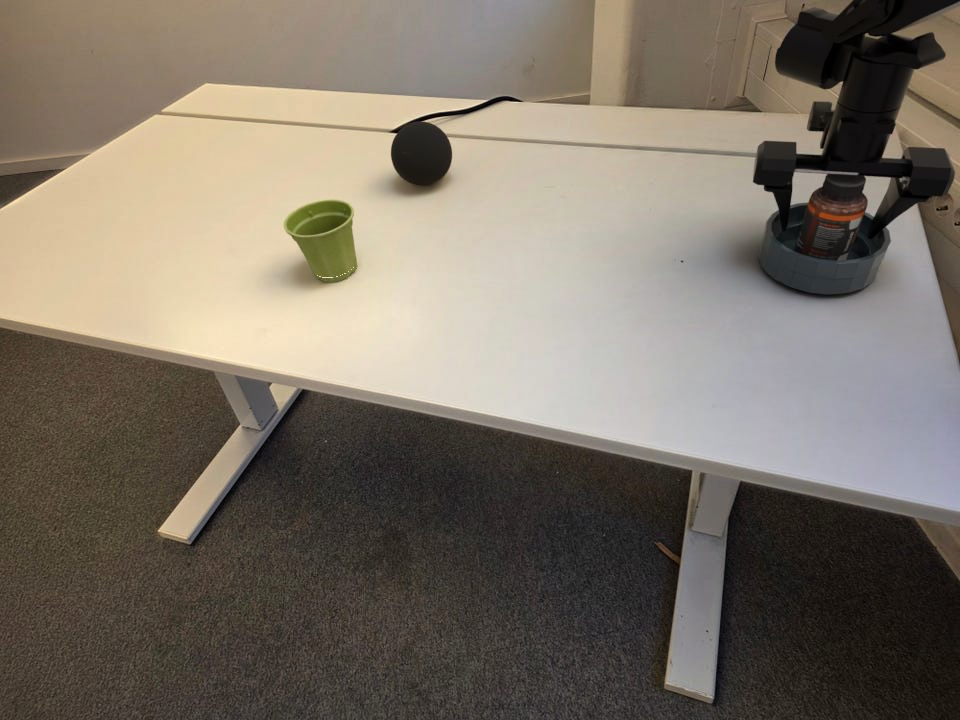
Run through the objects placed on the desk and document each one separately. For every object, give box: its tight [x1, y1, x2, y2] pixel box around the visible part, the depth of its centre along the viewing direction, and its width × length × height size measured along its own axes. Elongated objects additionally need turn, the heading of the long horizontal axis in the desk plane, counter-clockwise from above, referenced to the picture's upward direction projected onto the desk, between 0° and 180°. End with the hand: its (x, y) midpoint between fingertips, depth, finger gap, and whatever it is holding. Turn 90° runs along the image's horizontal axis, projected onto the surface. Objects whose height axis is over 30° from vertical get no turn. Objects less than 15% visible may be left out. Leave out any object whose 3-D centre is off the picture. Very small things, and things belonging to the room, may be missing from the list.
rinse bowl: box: [758, 201, 892, 295], centre depth 74 cm, size 13×13×5 cm
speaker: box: [390, 120, 453, 187], centre depth 99 cm, size 10×10×10 cm
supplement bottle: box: [794, 174, 869, 261], centre depth 71 cm, size 6×6×11 cm
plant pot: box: [283, 199, 358, 283], centre depth 84 cm, size 9×9×9 cm
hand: (825, 233), depth 72 cm, fingers open, 9 cm apart
